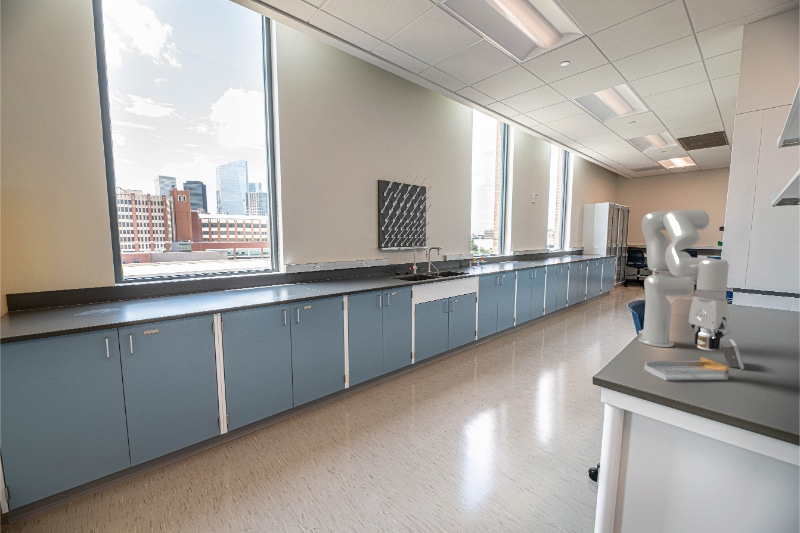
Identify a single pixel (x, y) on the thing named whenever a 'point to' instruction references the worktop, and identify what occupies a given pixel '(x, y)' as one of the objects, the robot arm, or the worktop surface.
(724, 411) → the worktop surface
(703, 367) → the rail
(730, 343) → the electrical switch
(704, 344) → the pill bottle
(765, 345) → the worktop surface
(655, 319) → the robot arm
